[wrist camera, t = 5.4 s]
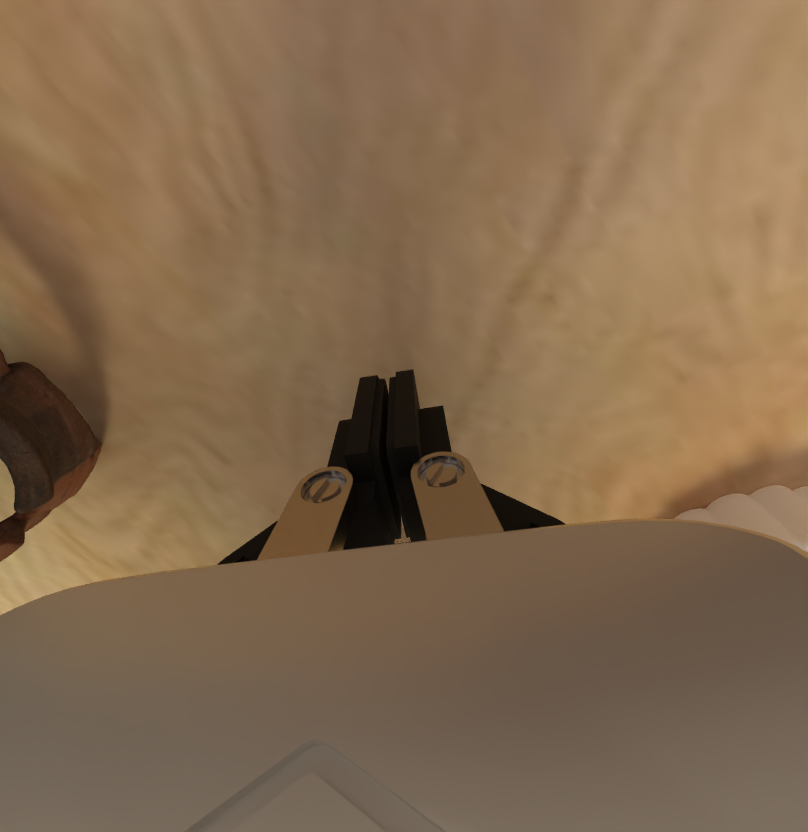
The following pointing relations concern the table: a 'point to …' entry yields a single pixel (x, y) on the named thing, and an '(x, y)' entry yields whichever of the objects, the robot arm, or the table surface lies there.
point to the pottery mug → (39, 448)
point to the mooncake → (761, 513)
